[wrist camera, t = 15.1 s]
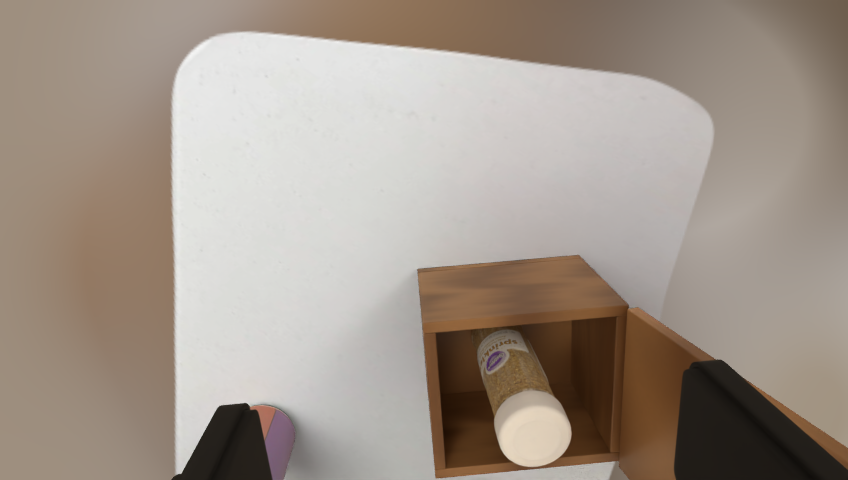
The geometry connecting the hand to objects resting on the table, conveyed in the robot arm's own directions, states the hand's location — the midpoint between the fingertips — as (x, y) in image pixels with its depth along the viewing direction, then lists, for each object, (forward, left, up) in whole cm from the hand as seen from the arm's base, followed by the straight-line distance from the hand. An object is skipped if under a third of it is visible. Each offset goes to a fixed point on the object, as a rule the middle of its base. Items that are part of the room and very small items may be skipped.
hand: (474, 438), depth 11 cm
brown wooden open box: (+14, +6, -30) cm, 34 cm away
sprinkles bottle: (+14, +6, -30) cm, 33 cm away
